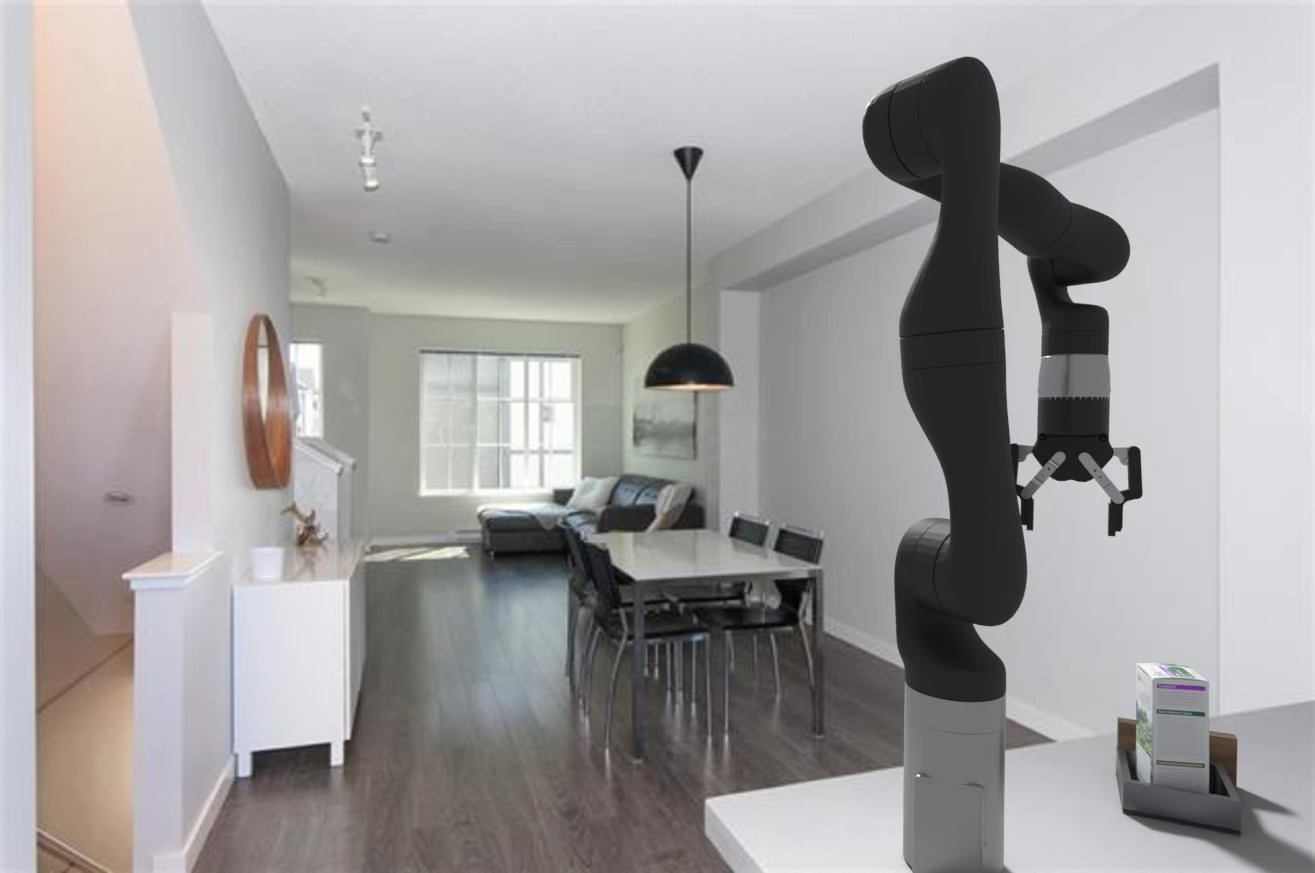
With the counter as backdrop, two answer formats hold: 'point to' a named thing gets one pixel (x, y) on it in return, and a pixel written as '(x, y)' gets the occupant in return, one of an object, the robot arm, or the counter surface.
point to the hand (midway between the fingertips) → (1070, 532)
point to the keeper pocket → (1179, 798)
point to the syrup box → (1172, 726)
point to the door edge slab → (1219, 746)
